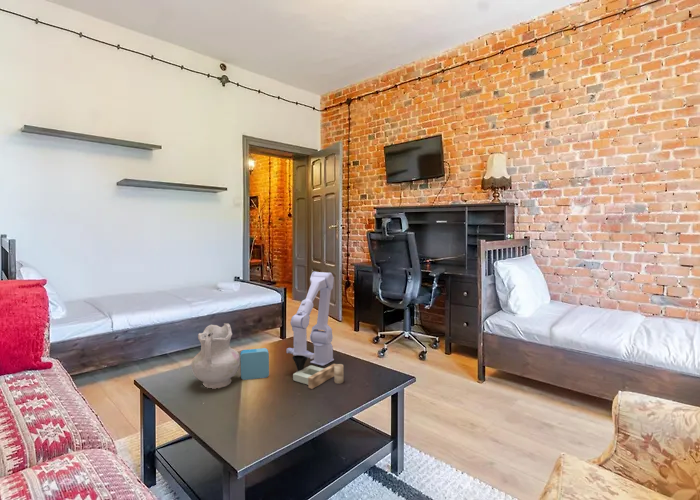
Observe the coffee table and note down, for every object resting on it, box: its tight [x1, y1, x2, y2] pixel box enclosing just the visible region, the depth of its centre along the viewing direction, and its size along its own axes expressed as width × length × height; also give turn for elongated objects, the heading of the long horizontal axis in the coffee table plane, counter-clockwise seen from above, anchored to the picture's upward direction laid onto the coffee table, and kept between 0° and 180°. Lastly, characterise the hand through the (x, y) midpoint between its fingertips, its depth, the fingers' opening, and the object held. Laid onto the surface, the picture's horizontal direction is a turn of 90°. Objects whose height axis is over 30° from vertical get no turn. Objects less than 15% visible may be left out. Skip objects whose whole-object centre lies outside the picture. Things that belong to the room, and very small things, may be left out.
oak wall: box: [307, 363, 337, 390], centre depth 164 cm, size 18×2×4 cm, turn 147°
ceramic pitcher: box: [190, 322, 241, 390], centre depth 160 cm, size 22×20×25 cm
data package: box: [239, 347, 270, 381], centre depth 168 cm, size 12×4×12 cm, turn 106°
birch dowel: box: [333, 363, 344, 385], centre depth 163 cm, size 4×4×7 cm
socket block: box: [292, 364, 325, 385], centre depth 167 cm, size 12×10×3 cm
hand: (300, 371), depth 170 cm, fingers closed
